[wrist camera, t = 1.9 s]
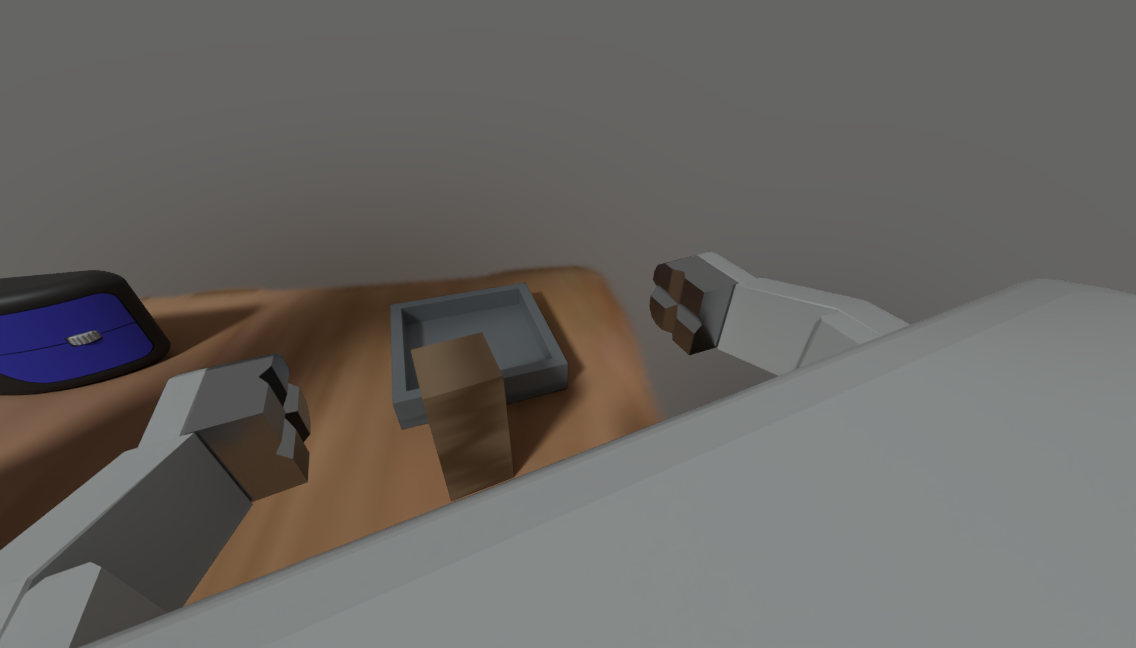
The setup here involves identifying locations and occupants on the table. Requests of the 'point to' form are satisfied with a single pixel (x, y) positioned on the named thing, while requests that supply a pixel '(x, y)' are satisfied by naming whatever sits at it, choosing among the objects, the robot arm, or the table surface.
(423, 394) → the walnut block
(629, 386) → the table surface
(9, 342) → the blue scroll wheel mouse
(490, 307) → the tray
